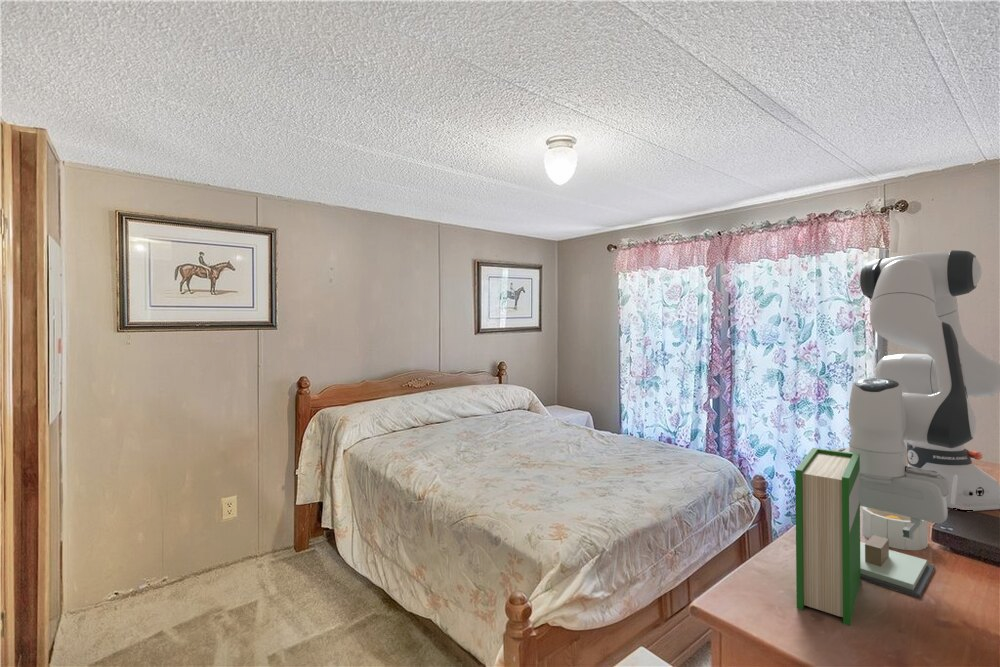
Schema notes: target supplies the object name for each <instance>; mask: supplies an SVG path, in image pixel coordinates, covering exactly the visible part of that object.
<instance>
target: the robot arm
mask: <svg viewBox="0 0 1000 667" xmlns="http://www.w3.org/2000/svg"><path fill="white" fill-rule="evenodd" d="M976 256H977V255H975V254H974V253H973V252H971V251H968V250H958V249H957V250H955V249H953V250H951V251H931V252H929V251H926V252H916V253H914V254H906V255H905V254H904V255H900V256H893V257H889V258H883V257H881V258H878V259H873V260H871V261H868V262H867V263H866V264H865V265H864V266H862V268H861V271H860V275H859V278H858V281H859V287H860V289H861V293H862V294H863V296H865V297H866V298H868V299H870V300H871V303H870V304H871V305H870V311H869V316H870V318H869V319H870V325H871V326H872V328H873V330H874V331H875V332H876V333H877V335H879V336H880V337H882V338H883V339H885V340H886V341H888V342H891V343H893V344H896V345H899V346H902V347H905V348H908V349H912V350H915V351H919V352H920V353H897V354H891V355H889V354H888V355H884V356H883V357H882V358H881V359H880V360H879V361H877V363H876V366H875V370H874V374H875V377H869V378H862V379H859V380H856V381H855V382H853V384H852V387H851V390H850V397H849V404H848V425H849V428H850V433H851V434H850V438H849V442H848V447H841V448H832V449H831V450H834V451H842V452H849V453H857V454H860V507H862V506H863V507H868V508H872V509H876V510H881V511H885V512H889V513H894V514H898V515H903V516H907V517H910V522H911V523H914V524H913V525H912V526H911V527H910V528H909V527H904V528H903V538H906V539H909V540H914V537H915V530H916V529H917V528H918V527H919V526H920V524H921V523H922V520H924V521H927V522H929V523H930V522H931V523H933V524H934V523H935V524H939V525H940V524H942V523H944V522H945V521H946V520H947V519H948V515H949V513H948V511H949V510H948V508H950V509H953V508H964V509H969V510H973V511H972V512H978V511H991V510H994V511H995V510H1000V483H999V481H998V480H997V479H996V478H994V477H993V476H991V475H990V474H989V473H987V472H985V471H984V470H982V469H981V468H980V467H978V466H977V465H975V464H974V463H973V461H972V459H974V460H978V461H979V460H982V459H983V453H981V452H980V451H975V450H970V451H969V449H967V448H965V444H967V443H969V442H971V441H972V440H973V439H974V436H975V433H976V431H977V420H976V416H975V413H974V410H973V407H972V405H971V403H970V401H969V398H984V397H985V398H987V397H993V396H995V395H997V394H998V393H1000V363H999V362H998V361H997V360H995V359H994V358H991V357H990V356H986V354H983V353H981V352H980V351H979V350H977V349H976V348H975V347H973V345H971V344H970V342H969V341H968V340H967V339H966V337H965V335H964V334H963V331H962V326H961V323H960V314H959V306H958V298H957V296H962V295H968V294H969V293H971V292H972V291H974V290H975V289H976V288H977V285H978V284H979V282H980V280H981V277H982V266H981V264H980V262H979V260H978V259H977V257H976ZM905 441H908V442H906V444H905Z"/></svg>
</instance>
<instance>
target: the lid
mask: <svg viewBox="0 0 1000 667" xmlns="http://www.w3.org/2000/svg"><path fill="white" fill-rule="evenodd" d="M927 563H928V559H924V558H921V557H917V556H914V555H910V554H906V553H903V552H899V551H895V550H891V549H890V547H889V539H887V538H883V537H879V536H875V535H873V536H872V537H871V538H870V539H868V540H867V541H866V542H863V541H860V573H861V574H864V575H867V576H870V577H873V578H877V579H880V580H883V581H886V582H889V583H892V584H895V585H898V586H902V587H905V588H908V589H911V590H914V588H915V586H916V584H917V583H918V581H919V579H920V577H921V575H922V573H923V572H924V570H925V568H926V566H927Z"/></svg>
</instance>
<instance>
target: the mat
mask: <svg viewBox="0 0 1000 667" xmlns="http://www.w3.org/2000/svg"><path fill="white" fill-rule="evenodd" d="M935 569H936V565H934V564H931V563H928V562H927V566H926V568H925V570H924V572H923V573H922V575H921V577H920V579H919V581H918V583H917V584H916V586H915V588H914V590H911V589H908V588H905V587H902V586H898V585H895V584H892V583H889V582H886V581H883V580H880V579H877V578H873V577H870V576H867V575H864V574H861V573H860V576H861V580H862V581H866V582H870V583H872V584H875V585H878V586H881V587H885V588H888V589H890V590H893V591H897V592H900V593H903V594H906V595H908V596H911V597H915V598H918V599H920V598H921V596H922V594H923V592H924V591H925V588H926V587H927V585H928V582H929V581H930V578H931V576H932V575H933V573H934V571H935Z"/></svg>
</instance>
